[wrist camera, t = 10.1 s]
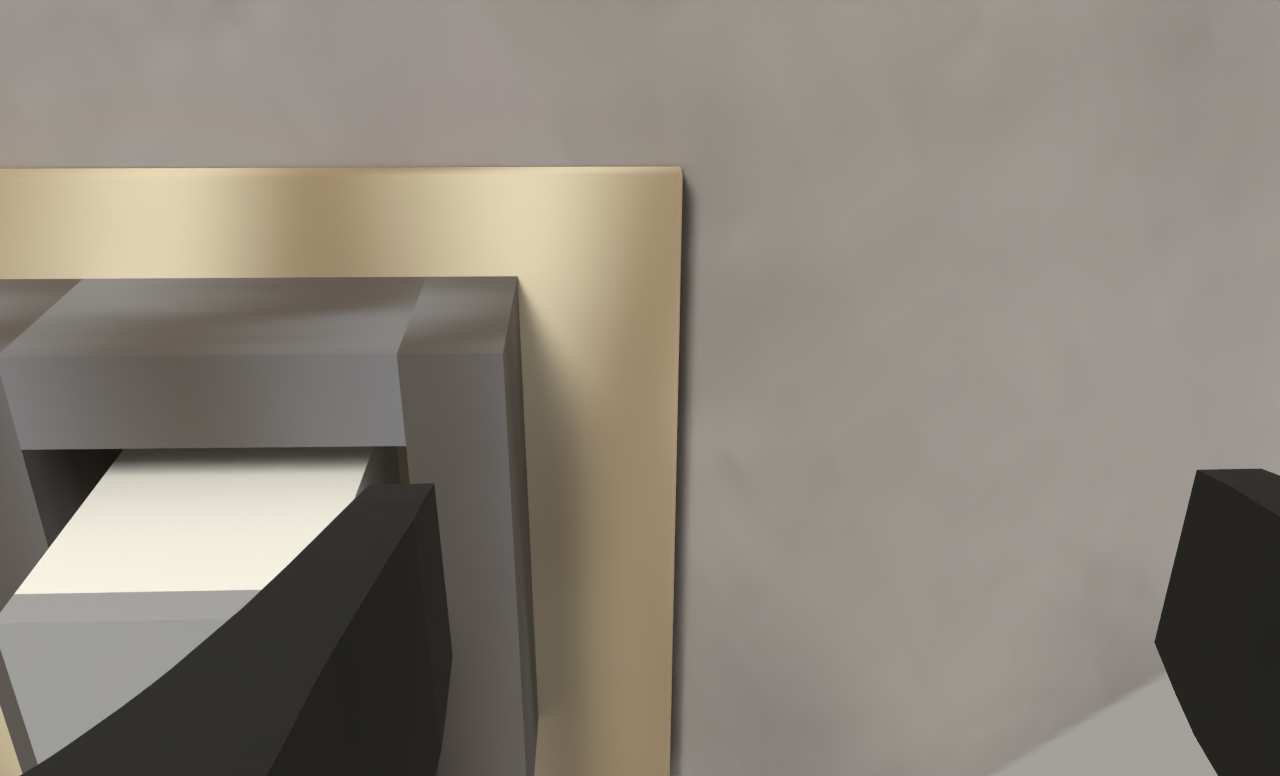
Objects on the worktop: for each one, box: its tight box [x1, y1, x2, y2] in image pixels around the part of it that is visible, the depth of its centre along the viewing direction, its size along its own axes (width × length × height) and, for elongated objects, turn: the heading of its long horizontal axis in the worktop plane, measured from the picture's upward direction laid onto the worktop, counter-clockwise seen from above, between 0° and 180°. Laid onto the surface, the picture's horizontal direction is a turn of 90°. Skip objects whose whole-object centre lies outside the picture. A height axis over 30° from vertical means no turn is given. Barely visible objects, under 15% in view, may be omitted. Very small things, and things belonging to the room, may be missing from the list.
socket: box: [0, 167, 683, 776], centre depth 20 cm, size 14×13×4 cm
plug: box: [0, 446, 400, 764], centre depth 18 cm, size 4×5×6 cm
